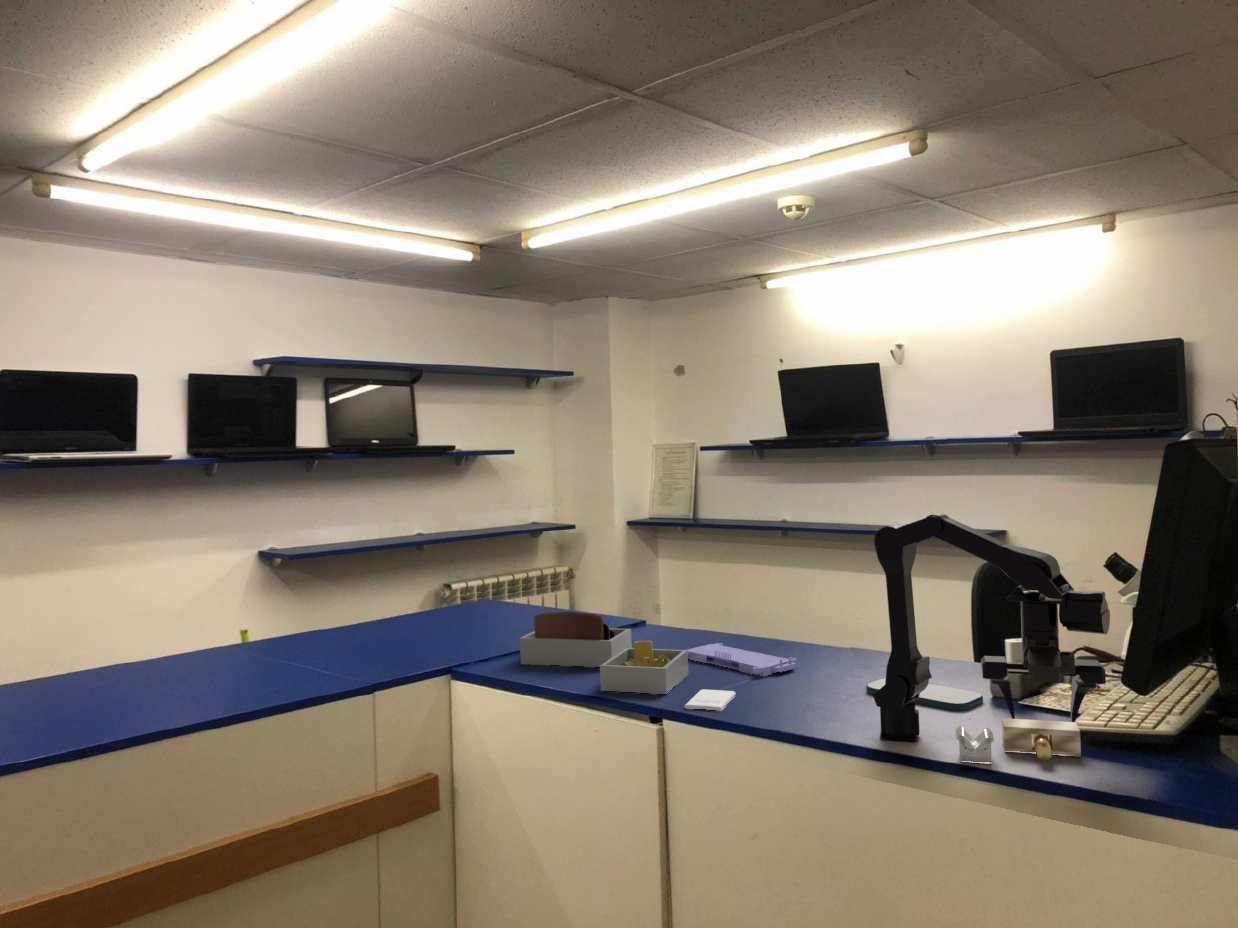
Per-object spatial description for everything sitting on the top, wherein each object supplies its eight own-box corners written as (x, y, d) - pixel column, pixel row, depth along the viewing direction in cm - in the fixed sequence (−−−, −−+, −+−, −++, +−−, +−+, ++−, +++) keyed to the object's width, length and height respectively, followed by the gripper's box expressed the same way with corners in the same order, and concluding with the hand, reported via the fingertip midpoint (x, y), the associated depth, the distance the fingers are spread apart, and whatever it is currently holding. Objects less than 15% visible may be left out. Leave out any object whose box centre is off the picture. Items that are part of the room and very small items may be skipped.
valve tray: (600, 691, 208) (599, 665, 208) (627, 671, 226) (626, 648, 226) (666, 695, 202) (665, 668, 202) (688, 674, 220) (687, 650, 220)
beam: (1004, 752, 157) (1003, 726, 157) (1002, 743, 161) (1001, 718, 161) (1080, 757, 153) (1080, 731, 153) (1076, 748, 157) (1075, 722, 157)
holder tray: (520, 664, 238) (519, 638, 238) (545, 650, 254) (544, 626, 253) (612, 668, 230) (611, 641, 230) (632, 654, 245) (631, 629, 245)
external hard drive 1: (735, 698, 200) (721, 714, 188) (700, 696, 203) (684, 711, 191) (735, 691, 200) (721, 706, 188) (700, 689, 203) (684, 704, 191)
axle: (1035, 759, 150) (1036, 745, 150) (1031, 737, 162) (1032, 724, 161) (1051, 761, 150) (1052, 747, 149) (1046, 739, 161) (1046, 726, 161)
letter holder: (604, 667, 232) (601, 613, 232) (534, 664, 238) (532, 611, 238) (617, 658, 241) (614, 606, 241) (549, 656, 248) (547, 605, 248)
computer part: (763, 681, 212) (804, 670, 222) (762, 664, 212) (803, 653, 222) (678, 661, 236) (718, 652, 245) (677, 645, 236) (718, 636, 245)
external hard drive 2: (860, 695, 198) (860, 686, 198) (888, 684, 206) (888, 675, 206) (962, 715, 180) (961, 705, 180) (988, 703, 188) (988, 693, 188)
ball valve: (618, 686, 215) (640, 689, 207) (615, 643, 217) (637, 644, 208) (661, 681, 222) (685, 683, 213) (659, 639, 223) (682, 639, 215)
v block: (994, 765, 151) (993, 736, 151) (957, 762, 153) (956, 734, 153) (992, 755, 156) (992, 727, 155) (956, 753, 158) (955, 725, 157)
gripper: (982, 636, 147) (985, 730, 147) (1110, 640, 141) (1113, 739, 141) (979, 623, 157) (982, 711, 157) (1098, 626, 151) (1101, 718, 151)
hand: (1042, 720), depth 151 cm, fingers open, 9 cm apart
